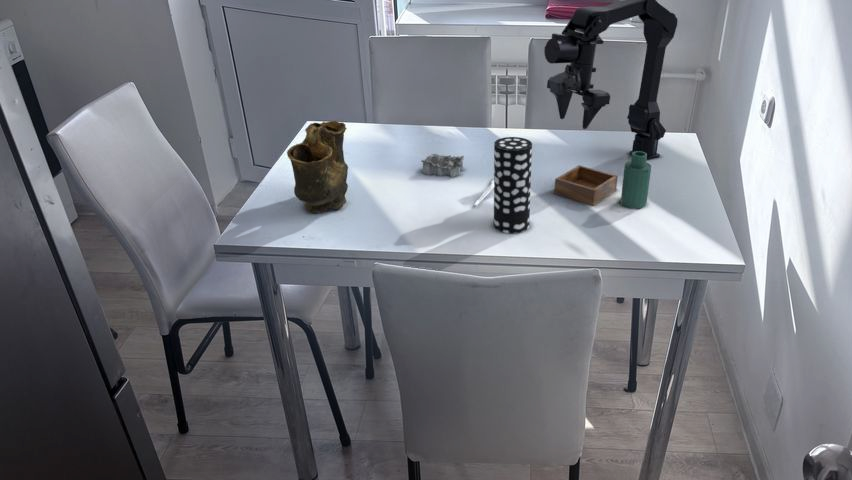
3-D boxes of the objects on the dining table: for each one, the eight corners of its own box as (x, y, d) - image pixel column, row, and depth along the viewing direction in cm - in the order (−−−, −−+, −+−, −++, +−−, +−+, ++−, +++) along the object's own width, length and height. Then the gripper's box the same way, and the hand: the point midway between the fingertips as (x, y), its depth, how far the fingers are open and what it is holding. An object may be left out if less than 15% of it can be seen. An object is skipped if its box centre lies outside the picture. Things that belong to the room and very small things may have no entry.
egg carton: (420, 174, 189) (419, 160, 187) (429, 164, 195) (428, 150, 193) (458, 178, 187) (457, 163, 184) (465, 168, 193) (465, 153, 191)
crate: (578, 179, 187) (579, 165, 185) (616, 190, 181) (617, 175, 179) (554, 193, 179) (555, 178, 177) (593, 205, 173) (594, 190, 171)
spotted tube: (533, 220, 166) (536, 139, 155) (523, 235, 159) (525, 152, 149) (500, 215, 168) (501, 135, 158) (488, 230, 161) (488, 147, 151)
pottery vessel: (317, 182, 183) (307, 108, 173) (358, 183, 183) (351, 109, 173) (288, 225, 162) (275, 143, 152) (335, 227, 162) (325, 145, 151)
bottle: (635, 196, 178) (641, 147, 172) (651, 205, 174) (658, 156, 167) (615, 200, 176) (621, 151, 169) (630, 210, 171) (637, 160, 164)
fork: (468, 206, 172) (468, 199, 171) (497, 176, 188) (497, 170, 187) (481, 208, 171) (481, 201, 170) (508, 178, 187) (508, 172, 186)
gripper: (534, 55, 177) (527, 116, 184) (581, 71, 163) (572, 137, 171) (568, 54, 182) (559, 113, 190) (616, 70, 169) (605, 133, 177)
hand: (573, 123), depth 182 cm, fingers open, 9 cm apart
